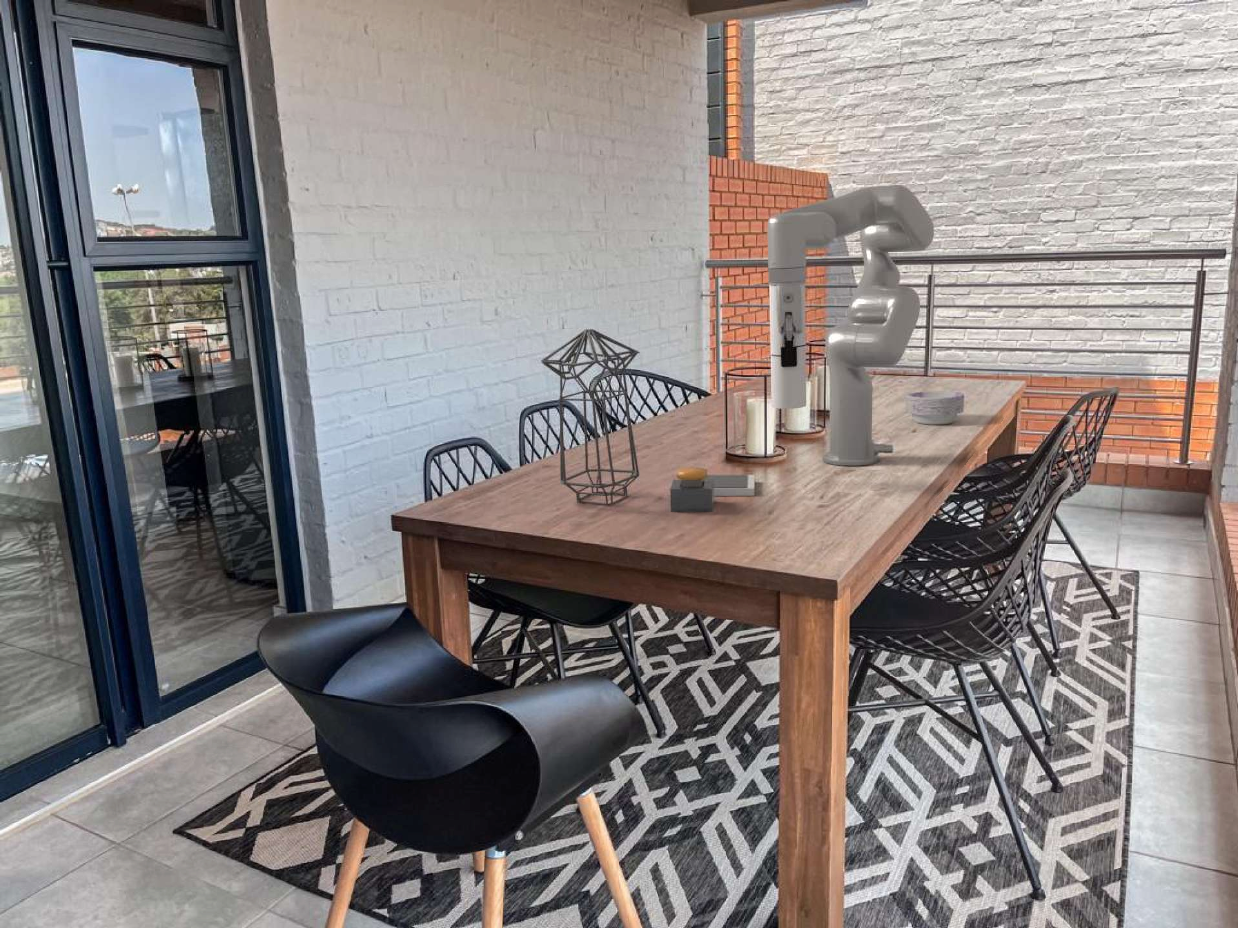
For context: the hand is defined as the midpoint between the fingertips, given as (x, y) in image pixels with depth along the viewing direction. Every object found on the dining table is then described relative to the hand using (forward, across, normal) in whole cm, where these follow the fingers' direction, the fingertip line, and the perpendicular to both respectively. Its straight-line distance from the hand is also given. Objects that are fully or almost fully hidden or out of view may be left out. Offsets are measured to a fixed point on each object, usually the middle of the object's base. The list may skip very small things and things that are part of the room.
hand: (788, 363), depth 199 cm
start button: (+23, -19, +19) cm, 35 cm away
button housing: (+25, -19, +20) cm, 37 cm away
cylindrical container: (+9, 0, 0) cm, 9 cm away
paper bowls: (+27, +69, -42) cm, 85 cm away
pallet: (+25, -5, +14) cm, 30 cm away
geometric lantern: (+25, -13, +40) cm, 48 cm away
